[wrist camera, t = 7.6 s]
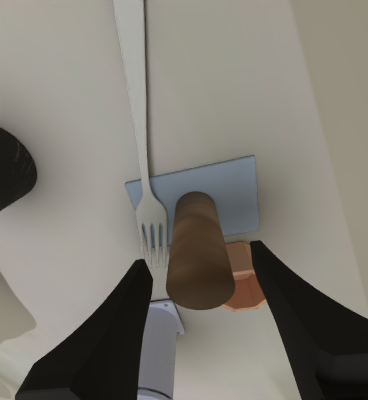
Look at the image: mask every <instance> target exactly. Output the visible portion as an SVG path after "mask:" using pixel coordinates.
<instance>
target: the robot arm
mask: <svg viewBox="0 0 368 400" xmlns="http://www.w3.org/2000/svg"><path fill="white" fill-rule="evenodd" d="M250 247H251V258H252V266H253V269H254V272H255V275H256V278H257V281H258V283H259V285H260V287H261V290H262V292H263V294H264V296H265V299H266V301H267V303H268V305H269V307H270V310H271V312H272V314H273V317H274V319H275V322H276V324H277V327H278V330H279V333H280V336H281V339H282V341H283V344H284V347H285V350H286V353H287V356H288V359H289V362H290V365H291V368H292V371H293V374H294V377H295V380H296V383H297V387H298V390H299V393H300V396H301V399H302V400H368V319H367V318H365V317H363V316H361V315H359V314H357V313H355V312H353V311H352V310H350V309H348V308H346V307H344V306H343V305H341V304H339V303H338V302H336V301H335V300H333V299H331V298H330V297H328V296H326V295H325V294H323V293H322V292H320V291H319V290H317V289H316V288H314V287H313V286H312V285H310V284H309V283H307V282H306V281H305V280H303V279H302V278H301V277H299V276H298V275H297V274H296V273H294V272H293V271H292V270H291V269H290V268H288V267H287V266H286V265H285V264H284V263H283V262H282V261H281V260H279V259H278V258H277V257H276V256H275V255H274V254H273V253H272V252H271V251H270V250H269V249H268V248H267V247H266V246H265V245H264V244H263V242H262V241H260V240H258V241H251V242H250ZM152 287H153V278H152V275H151V273H150V271H149V269H148V266H147V264H146V262H145V260H144V259H139V260H136V261H135V262H134V263H133V265H132V266H131V267H130V269H129V270H128V271H127V273H126V274H125V276H124V277H123V278H122V280H121V281H120V282H119V284H118V285H117V286H116V287H115V289H114V290H113V291H112V292H111V294H110V295H109V296H108V297H107V299H106V300H105V301H104V302H103V303H102V304H101V305H100V307H99V308H98V309H97V310H96V311H95V312H94V313H93V314H92V315H91V316H90V317H89V318H88V319H87V320H86V321H85V322H84V323H83V324H82V325H81V326H80V327H79V328H77V329H76V330H75V331H74V332H73V333H72V334H71V335H70V336H68V337H67V338H66V339H65V340H64V341H63V342H61V343H60V344H59V345H58V346H56V347H55V348H54V349H53V350H51V351H50V352H49V353H47V354H46V355H45V356H44V357H42V358H41V359H40V360H38V361H37V362H36V363H34V365H33V366H32V368H31V370H30V371H29V373H28V375H27V376H26V378H25V380H24V381H23V383H22V385H21V387H20V388H19V390H18V392H17V393H16V395H15V400H173V389H174V371H175V353H176V335H183V334H184V333H185V330H184V327H183V325H182V322H181V320H180V317H179V315H178V312H177V310H176V308H175V305H174V303H173V301H172V300H165V301H157V302H150V300H151V295H152Z"/></svg>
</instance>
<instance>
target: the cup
mask: <svg viewBox="0 0 368 400" xmlns="http://www.w3.org/2000/svg"><path fill="white" fill-rule="evenodd" d="M225 245H226V249H227V253H228V257H229V261H230V265H231V269H232V273H233V277H234V281H235V292H234V294H233V296H232V297H231V298H230V300H228V301H227V302H226V303H224V304H223V305H221V306H222V307H225V308H227V309H229V310H231V311H242V310H251V309H258V308H259V307H260V306H261V305H263V304H264V303H265V302H267V301H266V299H265V296H264V294H263V292H262V290H261V287H260V285H259V283H258V281H257V278H256V275H255V272H254V269H253V266H252V258H251V247H250V245H249V244H247V243H245V242H243V241H241V242H235V243H229V244H225Z"/></svg>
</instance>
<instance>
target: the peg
mask: <svg viewBox="0 0 368 400" xmlns="http://www.w3.org/2000/svg"><path fill="white" fill-rule="evenodd" d="M166 291H167V294H168V296H169V297H170V298H171V300H172V301H174V302H175V303H176V304H178V305H180V306H182V307H185V308H188V309H193V310H208V309H213V308H216V307H219V306H221V305H223V304H224V303H226V302H227V301H228V300H230V298H231V297H232V296H233V294H234V292H235V281H234V277H233V273H232V269H231V265H230V261H229V257H228V253H227V249H226V245H225V241H224V237H223V233H222V229H221V225H220V221H219V218H218V214H217V210H216V206H215V202H214V200H213V199H212V198H211V197H210V196H209V195H207V194H206V193H203V192H199V191H193V192H188V193H186V194H184V195H183V196H181V197H180V198H179V200H178V201H177V203H176V207H175V216H174V224H173V232H172V240H171V249H170V257H169V265H168V273H167V282H166Z"/></svg>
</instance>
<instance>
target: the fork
mask: <svg viewBox="0 0 368 400" xmlns="http://www.w3.org/2000/svg"><path fill="white" fill-rule="evenodd" d="M113 5H114V11H115V18H116V23H117V29H118V35H119V41H120V46H121V52H122V58H123V64H124V70H125V76H126V82H127V89H128V95H129V101H130V106H131V112H132V117H133V123H134V129H135V135H136V142H137V148H138V157H139V165H140V173H141V182H142V190H143V196H142V199H141V201H140V202H139V204H138V205H137V208H136V221H137V227H138V233H139V241H140V249H141V257H142V259H144V260H145V253H144V242H143V232H142V224H144V225H145V226H146V233H147V245H148V257H149V267H150V268H151V261H152V249H151V229H150V226H151V224H153V225H154V230H155V252H156V267H157V268H158V263H159V225H160V224H162V226H163V268H165V262H166V247H167V212H166V209H165V208H164V206H163V205H162V204H161V203H160V202H159V201H158V200H157V199H156V198H155V197H154V195H153V194H152V191H151V188H150V184H149V177H148V164H147V135H146V68H145V23H144V0H113Z"/></svg>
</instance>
